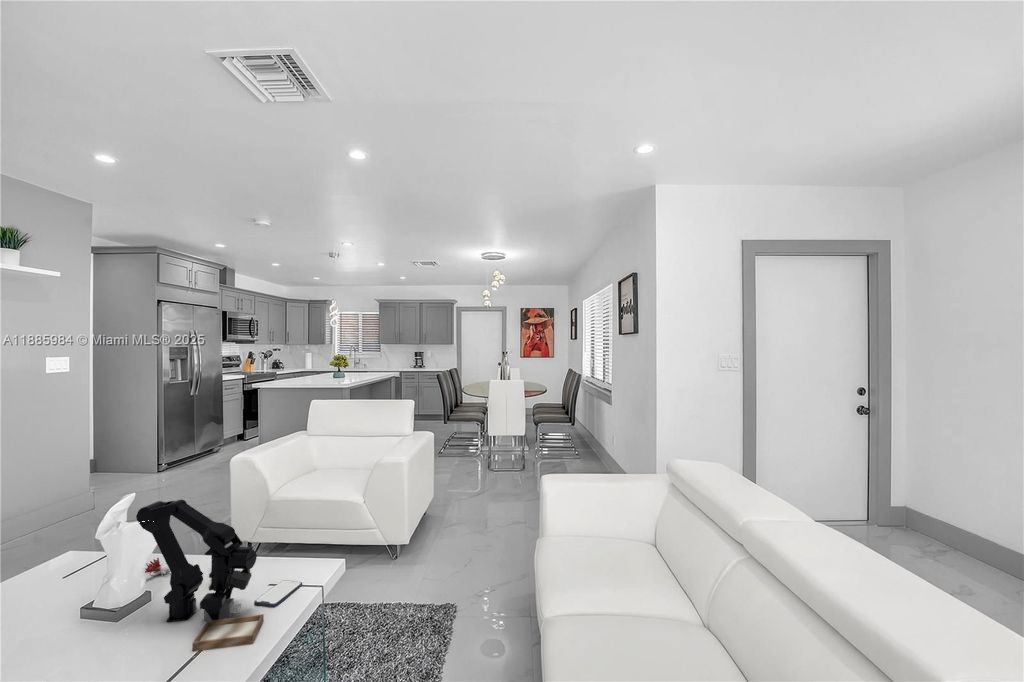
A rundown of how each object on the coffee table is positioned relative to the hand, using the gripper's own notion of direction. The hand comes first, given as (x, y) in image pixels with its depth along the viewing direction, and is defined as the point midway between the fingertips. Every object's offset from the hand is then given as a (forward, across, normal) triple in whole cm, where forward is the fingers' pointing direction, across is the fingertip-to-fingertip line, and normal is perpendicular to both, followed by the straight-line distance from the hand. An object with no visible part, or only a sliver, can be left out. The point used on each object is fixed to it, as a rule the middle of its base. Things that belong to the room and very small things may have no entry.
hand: (221, 614), depth 154 cm
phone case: (+2, +11, -15) cm, 19 cm away
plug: (+1, 0, 0) cm, 1 cm away
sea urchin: (+1, +23, +9) cm, 25 cm away
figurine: (+1, +37, +33) cm, 50 cm away
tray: (+1, -11, -6) cm, 13 cm away
